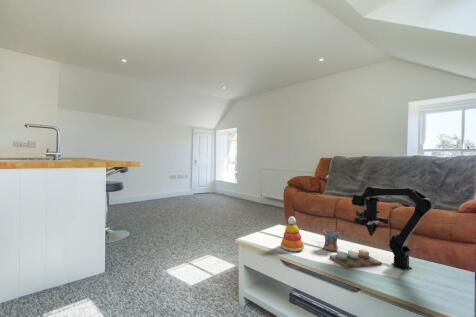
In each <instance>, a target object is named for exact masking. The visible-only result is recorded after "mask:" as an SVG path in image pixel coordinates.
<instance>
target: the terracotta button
mask: <svg viewBox="0 0 476 317" xmlns="http://www.w3.org/2000/svg"><path fill="white" fill-rule="evenodd" d="M358 253H359V256H361V257H366V258H367V257H369V256H370V251H368V250H365V249H358Z"/></svg>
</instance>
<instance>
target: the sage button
mask: <svg viewBox="0 0 476 317" xmlns="http://www.w3.org/2000/svg"><path fill="white" fill-rule="evenodd" d="M336 252H337V253H336V255H337V257H338V258H339V259H347V254H348V252H345V251H342V250H341V251H340V250H339V251H338V250H337V251H336Z"/></svg>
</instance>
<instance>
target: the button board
mask: <svg viewBox="0 0 476 317" xmlns="http://www.w3.org/2000/svg"><path fill="white" fill-rule="evenodd" d="M329 259H330V260H332V261H333V262H335V263H336V264H338V265H339V266H341V267H343V269H345V270H347V269H356V268H368V267H375V266H376V267H377V266H382V265H383V264H382V261H380V260H378V259H376V258H375V257H373V256H370V255H369V257H367V258H366V257H361V256H359V252H358V258H350V257H349V256H348V253H347V259H339V258H338V257H337V254H331V255H329Z"/></svg>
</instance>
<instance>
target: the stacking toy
mask: <svg viewBox="0 0 476 317" xmlns="http://www.w3.org/2000/svg"><path fill="white" fill-rule="evenodd" d="M287 223H288V224H287V225H286V226H285V229H284V233H283V236H282V237H283V238H282V240H281V243H280V247H281V248H282V249H284V250H286V251H289V252H299V251H302V250H304V249H305V245H304V243H303V240H302V234H301V233H300V228H299V227H298V226H297V224H296V223H297V219H296V218H295V216H293V215H292V216H289V218H288V219H287Z"/></svg>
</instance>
